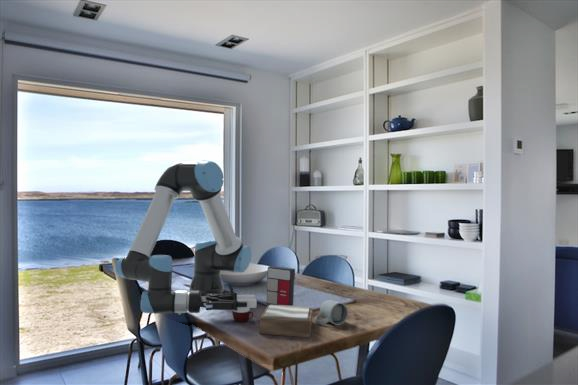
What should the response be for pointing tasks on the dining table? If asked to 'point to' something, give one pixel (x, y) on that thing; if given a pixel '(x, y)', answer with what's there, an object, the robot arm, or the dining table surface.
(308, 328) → the walnut stand
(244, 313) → the cocoa
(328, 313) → the ceramic mug
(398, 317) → the dining table surface
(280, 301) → the calculator
